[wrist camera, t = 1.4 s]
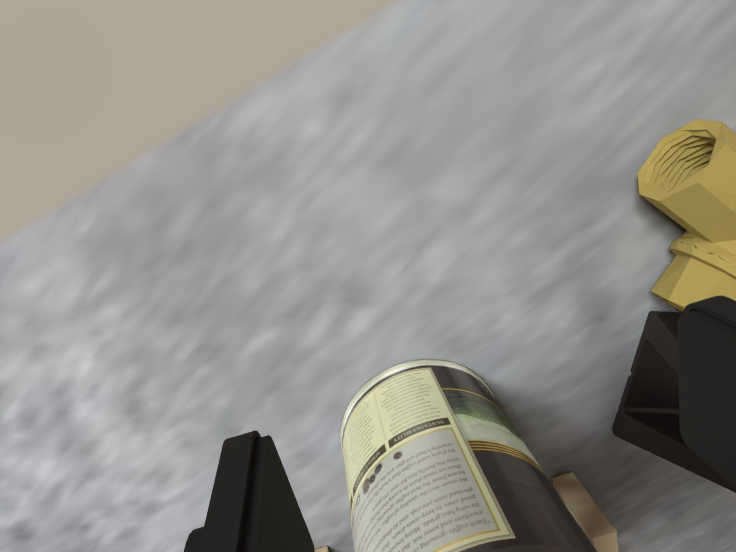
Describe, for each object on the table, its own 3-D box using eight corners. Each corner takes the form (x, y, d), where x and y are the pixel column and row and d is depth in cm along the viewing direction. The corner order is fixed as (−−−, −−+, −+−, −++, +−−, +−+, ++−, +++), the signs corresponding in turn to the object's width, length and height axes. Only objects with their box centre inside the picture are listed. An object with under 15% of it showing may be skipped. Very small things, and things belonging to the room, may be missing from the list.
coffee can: (508, 354, 30) (675, 552, 16) (487, 489, 33) (613, 744, 20) (339, 358, 28) (374, 579, 15) (336, 499, 32) (362, 782, 18)
